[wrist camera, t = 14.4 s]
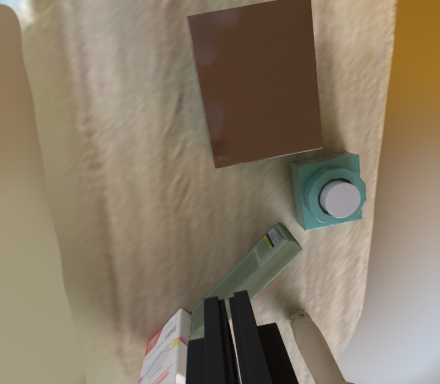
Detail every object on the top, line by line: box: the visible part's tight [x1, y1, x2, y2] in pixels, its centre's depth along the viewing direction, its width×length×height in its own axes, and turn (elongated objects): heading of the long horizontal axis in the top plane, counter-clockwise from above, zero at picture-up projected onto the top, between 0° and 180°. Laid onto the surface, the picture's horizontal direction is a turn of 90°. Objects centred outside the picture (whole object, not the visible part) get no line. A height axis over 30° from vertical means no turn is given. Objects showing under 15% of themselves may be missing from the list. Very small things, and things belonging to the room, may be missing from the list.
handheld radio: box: [190, 223, 303, 340], centre depth 40 cm, size 7×3×25 cm
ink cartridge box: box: [139, 309, 192, 384], centre depth 37 cm, size 9×5×15 cm, turn 139°
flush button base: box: [290, 152, 366, 231], centre depth 38 cm, size 9×8×5 cm
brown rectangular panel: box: [187, 0, 322, 169], centre depth 28 cm, size 14×12×1 cm
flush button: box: [319, 180, 360, 218], centre depth 35 cm, size 4×4×2 cm
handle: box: [290, 310, 353, 384], centre depth 38 cm, size 5×6×15 cm
